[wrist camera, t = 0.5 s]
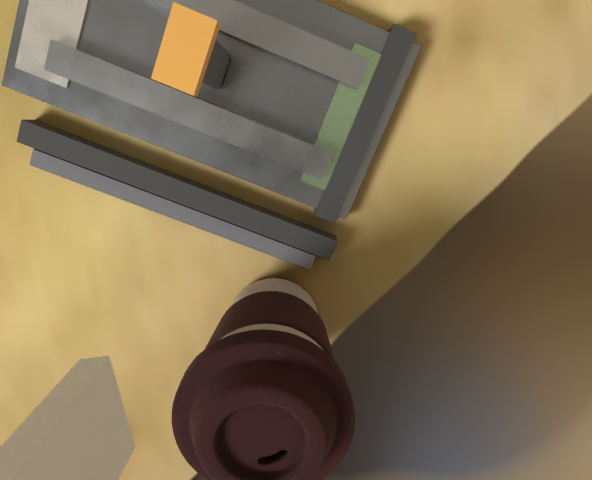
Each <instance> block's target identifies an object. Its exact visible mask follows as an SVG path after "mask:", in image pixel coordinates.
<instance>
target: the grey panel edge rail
mask: <svg viewBox="0 0 592 480" xmlns="http://www.w3.org/2000/svg"><path fill="white" fill-rule="evenodd" d="M389 32H390V35H389V38H388V40H387V42H386V45H385V47H384V50H383V52H382V55H381V58H380V60H379V63H378V65H377V67H376V70H375V72H374V75H373V77H372V79H371V82H370V84H369V87H368V89H367V91H366V94H365V96H364V99H363V101H362V104H361V106H360V108H359V111H358V113H357V116H356V118H355V120H354V123H353V125H352V128H351V130H350V132H349V135H348V137H347V140H346V142H345V144H344V147H343V149H342V152H341V154H340V156H339V159H338V161H337V164H336V166H335V168H334V171H333V173H332V176H331V178H330V180H329V183H328V185H327V188H326V190H325V192H324V194H323V196H322V199H321V201H320V204H319V206H318V209H317V208H315V211H314V213H315V216H317V217H319V218H322V219H325V220H327V221H330V222H332V223H335V222H336V220H337V218H338V215H339V213H340V211H341V209H342V206H343V204H344V202H345V199H346V197H347V195H348V192H349V190H350V188H351V185H352V183H353V181H354V178H355V176H356V174H357V171H358V169H359V167H360V164H361V162H362V160H363V157H364V155H365V153H366V150H367V148H368V146H369V143H370V141H371V139H372V136H373V134H374V132H375V129H376V127H377V125H378V122H379V120H380V118H381V116H382V113H383V111H384V109H385V106H386V104H387V102H388V99H389V97H390V95H391V92H392V90H393V88H394V85H395V83H396V81H397V78H398V76H399V74H400V71H401V69H402V67H403V64H404V62H405V60H406V57H407V55H408V53H409V50H410V48H411V46H412V43H413V41H414V39H415V36H416V33H414V32H412V31H410V30H407V29H405V28H403V27H401V26H398V25H396V24H394V25H393V26H392V27H391V28H390V30H389Z"/></svg>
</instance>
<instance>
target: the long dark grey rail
mask: <svg viewBox="0 0 592 480" xmlns="http://www.w3.org/2000/svg"><path fill="white" fill-rule="evenodd" d="M17 142H19V143H22V144H24V145H27V146H30V147H32V148H35V149H33V153H32V157H31V161H30V165H31V166H34V167H37V168H39V169H42V170H45V171H47V172H50V173H53V174H55V175H58V176H61V177H63V178H66V179H69V180H71V181H74V182H77V183H79V184H82V185H85V186H87V187H90V188H93V189H95V190H98V191H101V192H103V193H106V194H109V195H111V196H114V197H117V198H119V199H122V200H125V201H127V202H130V203H133V204H135V205H138V206H141V207H143V208H146V209H149V210H151V211H154V212H157V213H159V214H162V215H165V216H167V217H170V218H173V219H175V220H178V221H181V222H183V223H186V224H189V225H191V226H194V227H197V228H199V229H202V230H205V231H207V232H210V233H213V234H215V235H218V236H221V237H223V238H226V239H229V240H231V241H234V242H237V243H239V244H242V245H245V246H247V247H250V248H253V249H255V250H258V251H261V252H263V253H266V254H269V255H271V256H274V257H277V258H279V259H282V260H285V261H287V262H290V263H293V264H295V265H298V266H301V267H303V268H306V269H309V270H310V269H311V266H312V264H313V262H314V259H315V257H316V255H317V256H320V257H322V258H325V259H328V260H329V259H330V257H331V255H332V253H333V250H334V248H335V246H336V243H337V239H336V236H334V235H332V234H329V233H327V232H324V231H321V230H319V229H316V228H314V227H311V226H309V225H306V224H303V223H301V222H298V221H296V220H293V219H290V218H288V217H285V216H283V215H280V214H277V213H275V212H272V211H270V210H267V209H264V208H262V207H259V206H257V205H254V204H252V203H249V202H246V201H244V200H241V199H239V198H236V197H233V196H231V195H228V194H226V193H223V192H220V191H218V190H215V189H213V188H210V187H207V186H205V185H202V184H200V183H197V182H195V181H192V180H189V179H187V178H184V177H182V176H179V175H176V174H174V173H171V172H169V171H166V170H163V169H161V168H158V167H156V166H153V165H150V164H148V163H145V162H143V161H140V160H138V159H135V158H132V157H130V156H127V155H125V154H122V153H119V152H117V151H114V150H112V149H109V148H106V147H104V146H101V145H99V144H96V143H93V142H91V141H88V140H86V139H83V138H81V137H78V136H75V135H73V134H70V133H68V132H65V131H62V130H60V129H57V128H55V127H52V126H49V125H47V124H44V123H42V122H39V121H36V120H21V125H20V129H19V134H18V138H17Z"/></svg>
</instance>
